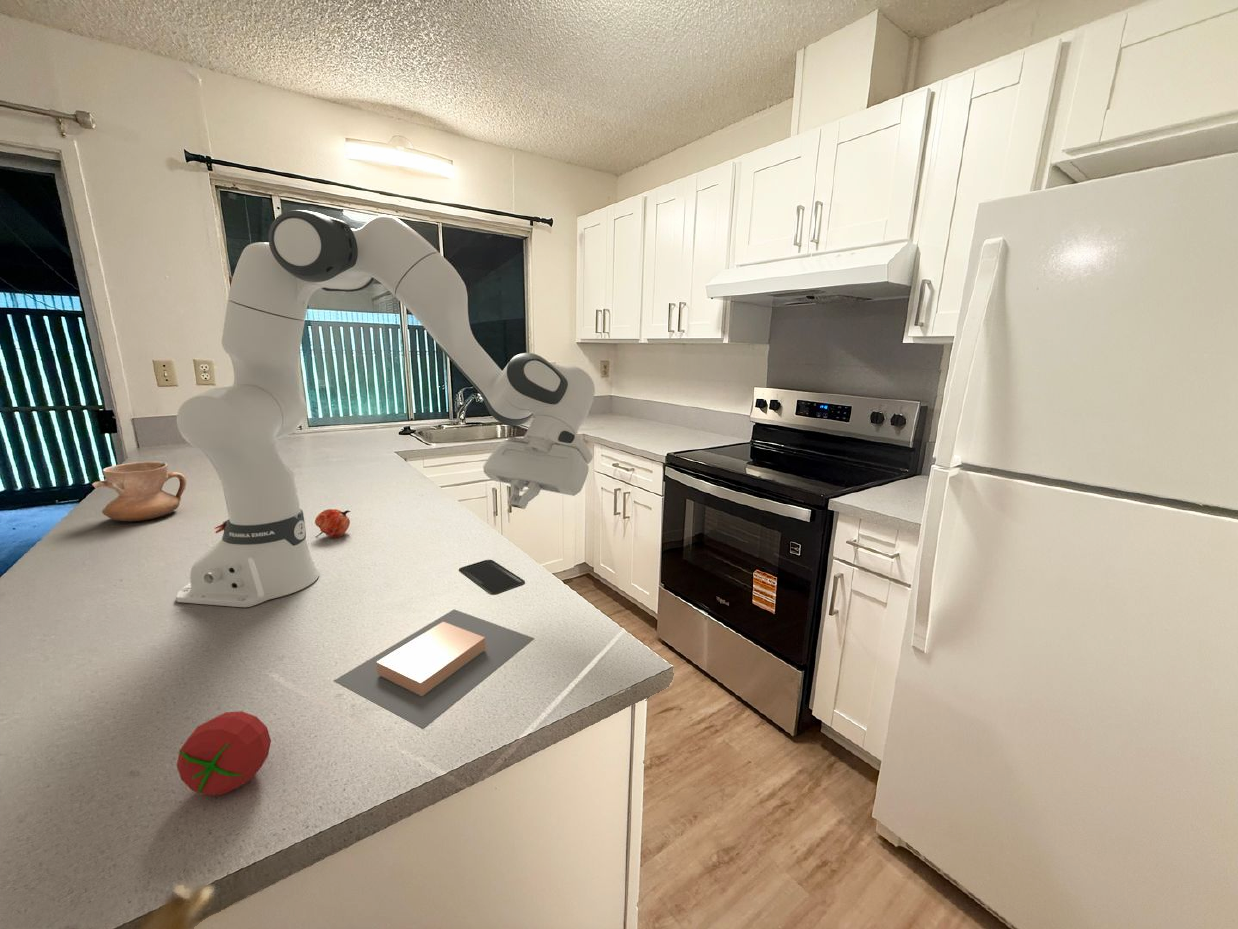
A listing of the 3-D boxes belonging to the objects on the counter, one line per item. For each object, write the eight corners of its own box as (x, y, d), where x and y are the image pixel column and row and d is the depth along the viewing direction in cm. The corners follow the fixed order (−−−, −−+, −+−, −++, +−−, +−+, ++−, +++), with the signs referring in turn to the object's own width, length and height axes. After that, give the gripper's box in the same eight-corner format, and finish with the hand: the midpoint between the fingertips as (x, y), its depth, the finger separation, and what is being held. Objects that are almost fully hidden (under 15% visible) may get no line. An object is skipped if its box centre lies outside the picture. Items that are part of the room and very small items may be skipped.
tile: (443, 621, 78) (376, 662, 68) (485, 637, 74) (420, 683, 64) (444, 634, 79) (377, 676, 69) (485, 650, 75) (422, 698, 65)
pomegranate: (318, 552, 116) (351, 526, 116) (296, 529, 115) (330, 503, 115) (332, 543, 124) (364, 519, 124) (312, 521, 122) (344, 497, 122)
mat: (454, 612, 87) (454, 609, 87) (534, 641, 78) (534, 638, 78) (334, 684, 68) (333, 680, 68) (423, 732, 60) (423, 728, 59)
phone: (490, 558, 107) (527, 582, 97) (490, 563, 108) (527, 587, 97) (456, 569, 102) (491, 595, 91) (456, 573, 102) (491, 600, 92)
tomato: (239, 685, 55) (187, 724, 47) (298, 723, 56) (256, 767, 48) (193, 742, 54) (134, 791, 47) (254, 779, 55) (205, 833, 48)
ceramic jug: (105, 531, 120) (93, 476, 117) (96, 518, 129) (85, 466, 126) (198, 514, 134) (189, 465, 131) (184, 503, 143) (176, 456, 140)
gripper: (496, 426, 93) (461, 488, 87) (588, 437, 83) (555, 507, 77) (512, 445, 98) (480, 504, 91) (600, 458, 88) (571, 525, 82)
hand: (515, 506), depth 84 cm, fingers closed
